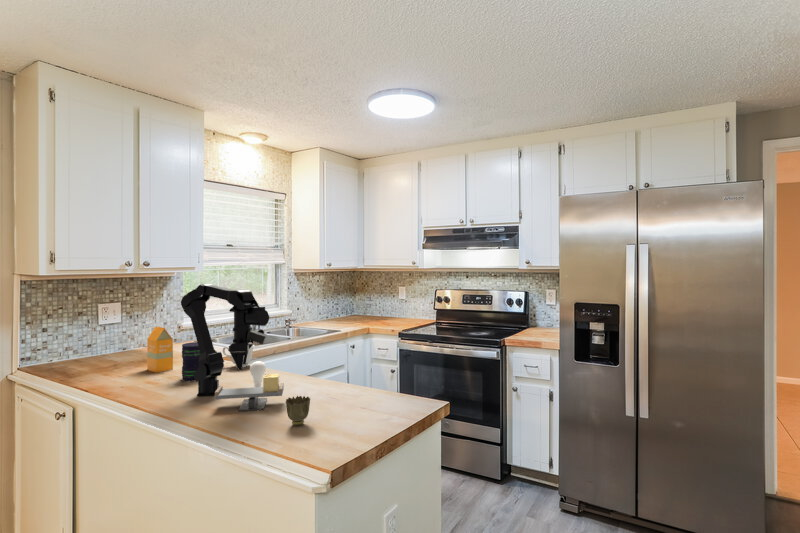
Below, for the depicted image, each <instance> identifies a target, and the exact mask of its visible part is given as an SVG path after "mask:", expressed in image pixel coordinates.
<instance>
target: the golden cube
mask: <svg viewBox="0 0 800 533" xmlns="http://www.w3.org/2000/svg"><path fill="white" fill-rule="evenodd" d="M262 382H263V384H262V385H263V386H262V387H263V392H276V391H278V390H279V386H280V373H266V374H265V373H264V375H263V377H262Z"/></svg>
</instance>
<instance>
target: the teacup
mask: <svg viewBox="0 0 800 533" xmlns="http://www.w3.org/2000/svg"><path fill="white" fill-rule="evenodd" d="M254 348H255V344H253V346H252V347H251V348H250V349H249V351H248V355H247V360H246V364H243V366H242V367H243V368H247V367H249V364H250V363H251V361H252V358H253V350H254ZM226 349H227V351H228V352H229V346H227V345H226V346H224V347H223V348H222V353H223V354H222V355H224V356H225V357H228V358H230V360H231V362H232V363H233V364H234V366H235V368H237V365H236V363H235V361H234V359H233V357H232V355H231V354H229V353H227V352H226ZM246 366H247V367H246Z"/></svg>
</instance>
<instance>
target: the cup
mask: <svg viewBox="0 0 800 533" xmlns="http://www.w3.org/2000/svg"><path fill="white" fill-rule="evenodd" d="M310 403H311V397H309V396H306V395H303V397H302V396H301V395H299V396H298V395H296V397H294V396H292V397H288V398H286V399H285V405H286V406H285V407H286V414H287V417H288V419H289V420H291V424H292V426H294V427H299V426H303V425H304V424H305V421H304V420H306V419H307V418H308V416H309V412H310Z"/></svg>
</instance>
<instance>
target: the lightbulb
mask: <svg viewBox="0 0 800 533" xmlns="http://www.w3.org/2000/svg"><path fill="white" fill-rule="evenodd" d="M266 370H267V367H266V364H265V363H264V362H263V361H261V360H259V361H254V362H253V363H251V365H250V367H249V373H250V375H251V376H252V379H253V384H254V385H253V386H254V387H253V388H255V387H262V382H263V377H264V375H265V373H266Z"/></svg>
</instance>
